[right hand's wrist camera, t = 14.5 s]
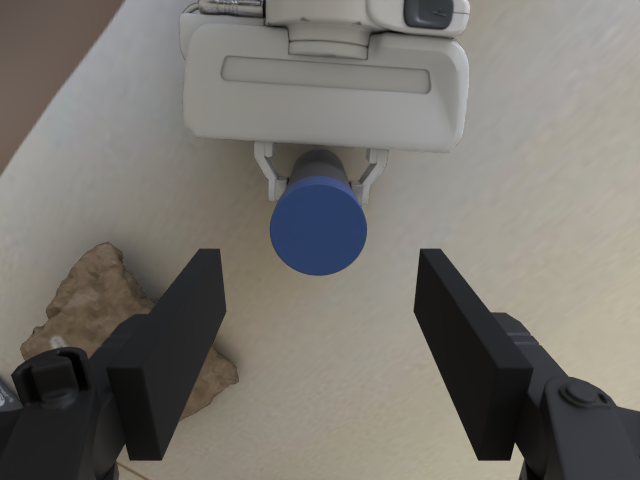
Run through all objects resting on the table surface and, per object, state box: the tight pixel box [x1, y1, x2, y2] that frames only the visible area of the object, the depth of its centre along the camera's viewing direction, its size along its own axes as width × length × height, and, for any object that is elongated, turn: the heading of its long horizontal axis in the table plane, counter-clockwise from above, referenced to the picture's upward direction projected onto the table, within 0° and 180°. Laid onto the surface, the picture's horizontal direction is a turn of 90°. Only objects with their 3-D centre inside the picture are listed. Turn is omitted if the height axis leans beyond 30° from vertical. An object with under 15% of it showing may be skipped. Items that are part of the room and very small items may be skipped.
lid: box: [270, 176, 367, 276], centre depth 22 cm, size 5×5×2 cm
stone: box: [20, 242, 239, 421], centre depth 40 cm, size 21×15×6 cm
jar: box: [286, 149, 351, 189], centre depth 29 cm, size 5×5×16 cm
